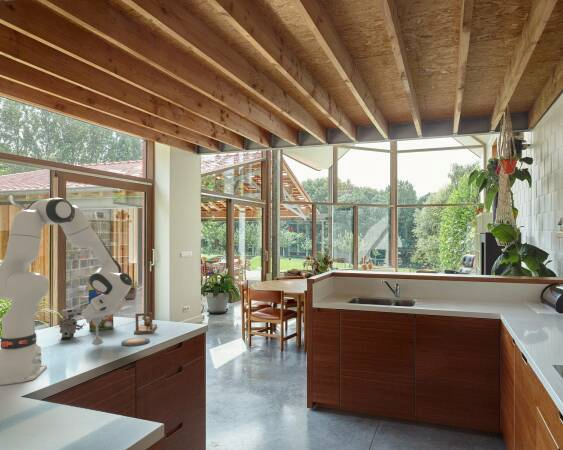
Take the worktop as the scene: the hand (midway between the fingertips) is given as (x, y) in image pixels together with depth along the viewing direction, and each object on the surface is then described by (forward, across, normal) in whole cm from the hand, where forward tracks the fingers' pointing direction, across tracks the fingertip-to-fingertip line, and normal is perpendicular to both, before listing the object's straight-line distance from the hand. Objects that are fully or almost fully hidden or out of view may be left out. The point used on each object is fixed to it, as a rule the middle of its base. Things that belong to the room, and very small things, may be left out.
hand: (96, 320), depth 210 cm
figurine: (+23, -2, -7) cm, 24 cm away
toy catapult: (+5, -28, +11) cm, 30 cm away
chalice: (+8, 0, +8) cm, 11 cm away
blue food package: (+24, -21, -8) cm, 33 cm away
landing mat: (-5, -7, +21) cm, 23 cm away
